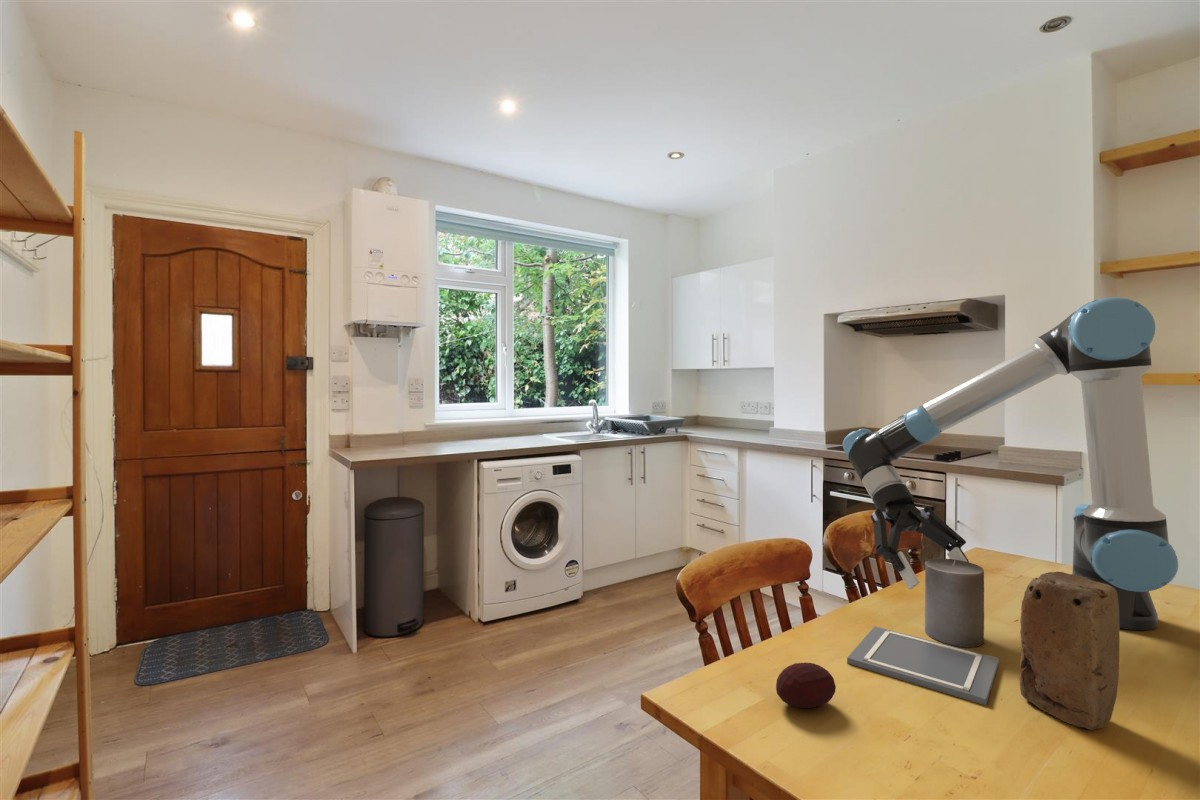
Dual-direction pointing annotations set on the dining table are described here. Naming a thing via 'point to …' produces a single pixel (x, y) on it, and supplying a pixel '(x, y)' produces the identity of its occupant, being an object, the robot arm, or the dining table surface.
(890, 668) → the slate tile
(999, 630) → the dining table surface
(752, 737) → the dining table surface
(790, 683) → the potato
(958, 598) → the pillar candle
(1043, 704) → the block
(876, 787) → the dining table surface
